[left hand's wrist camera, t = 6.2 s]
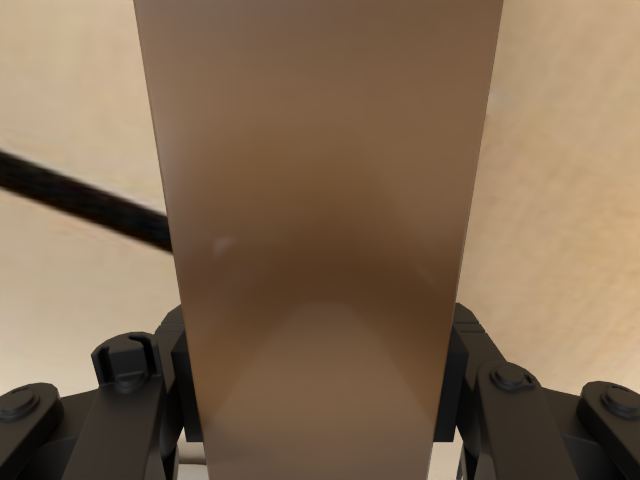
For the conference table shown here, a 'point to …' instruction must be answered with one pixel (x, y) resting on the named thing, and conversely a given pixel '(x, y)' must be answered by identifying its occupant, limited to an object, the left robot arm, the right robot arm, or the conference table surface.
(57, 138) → the conference table surface
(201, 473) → the projector
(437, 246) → the beam
